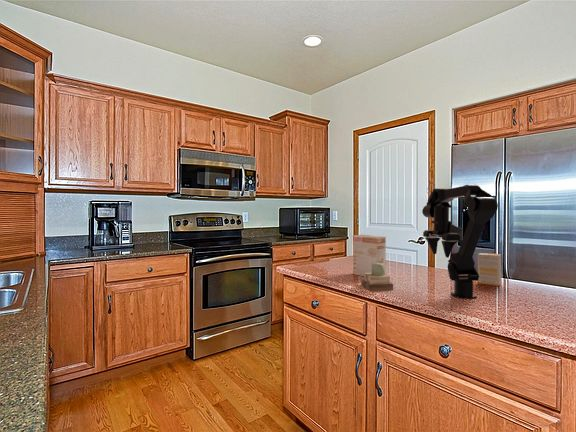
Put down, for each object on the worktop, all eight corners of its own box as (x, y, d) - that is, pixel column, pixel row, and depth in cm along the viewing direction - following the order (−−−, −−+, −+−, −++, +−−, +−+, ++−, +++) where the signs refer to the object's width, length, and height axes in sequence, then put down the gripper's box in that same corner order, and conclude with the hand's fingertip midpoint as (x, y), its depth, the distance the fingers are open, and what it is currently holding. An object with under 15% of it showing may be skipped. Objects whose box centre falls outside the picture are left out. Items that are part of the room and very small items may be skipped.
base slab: (393, 291, 136) (393, 284, 136) (369, 292, 135) (369, 284, 135) (383, 285, 146) (383, 278, 146) (361, 286, 145) (361, 279, 145)
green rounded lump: (385, 275, 138) (386, 264, 138) (374, 276, 137) (374, 265, 137) (381, 273, 143) (381, 262, 143) (369, 273, 142) (369, 263, 142)
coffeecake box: (386, 277, 159) (386, 236, 158) (376, 279, 155) (376, 237, 154) (362, 272, 171) (362, 234, 171) (352, 274, 167) (352, 235, 167)
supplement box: (501, 284, 144) (502, 254, 143) (499, 286, 140) (499, 255, 140) (480, 281, 149) (480, 252, 149) (477, 283, 146) (477, 253, 145)
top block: (389, 283, 137) (389, 276, 137) (370, 284, 136) (370, 276, 136) (382, 279, 145) (382, 272, 145) (364, 279, 144) (364, 272, 144)
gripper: (474, 219, 132) (473, 258, 132) (446, 217, 150) (445, 252, 151) (447, 219, 130) (447, 259, 131) (422, 217, 149) (422, 252, 149)
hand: (440, 255), depth 141 cm, fingers open, 9 cm apart
